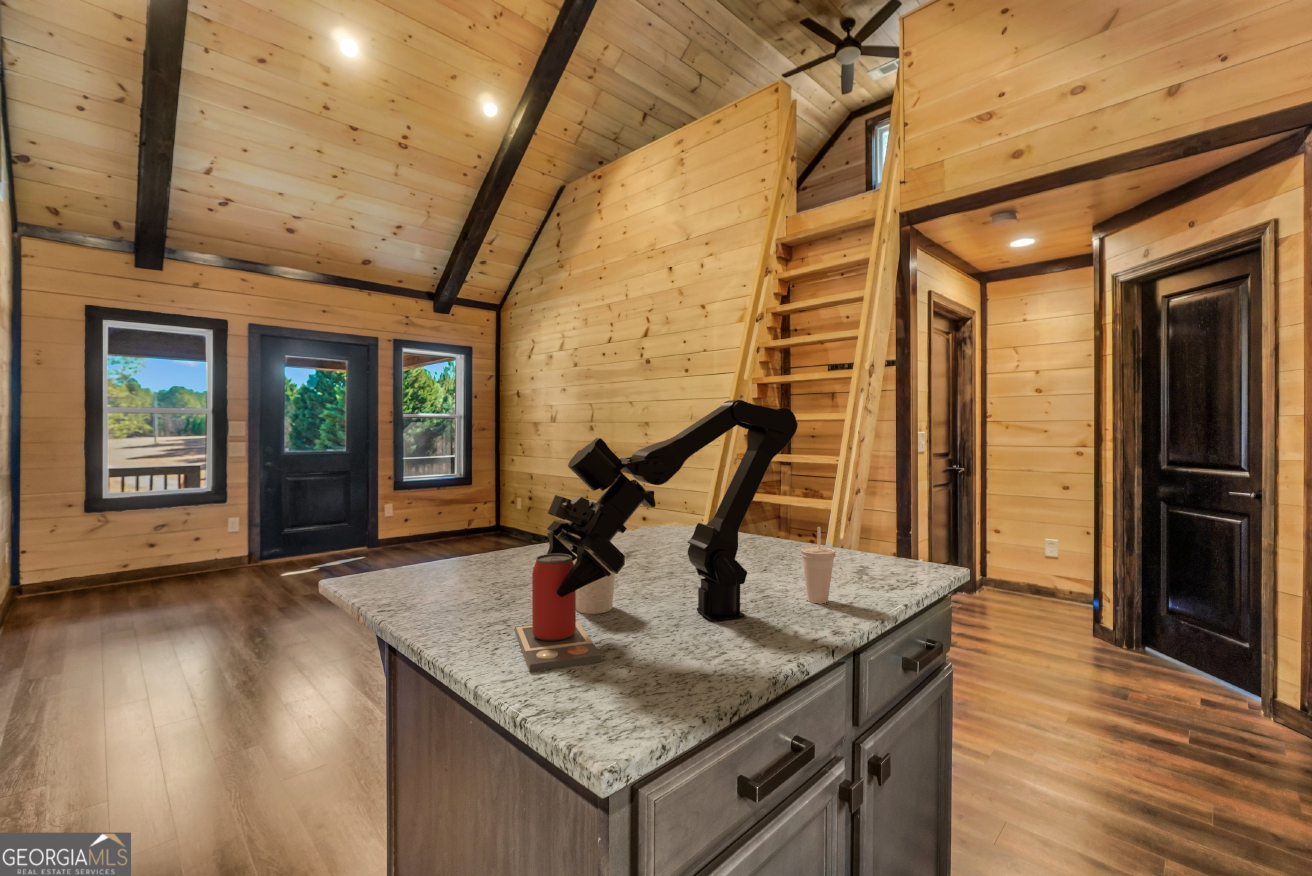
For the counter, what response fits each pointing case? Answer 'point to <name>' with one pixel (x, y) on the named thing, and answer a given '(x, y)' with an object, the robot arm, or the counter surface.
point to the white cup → (596, 595)
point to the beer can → (552, 599)
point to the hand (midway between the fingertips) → (547, 587)
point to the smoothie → (818, 571)
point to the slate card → (556, 650)
